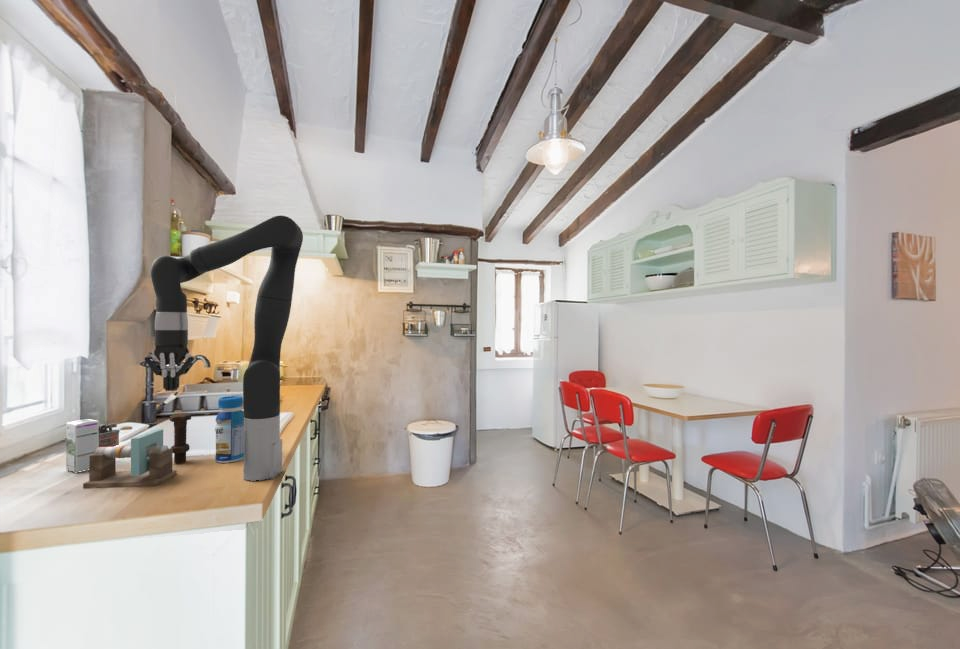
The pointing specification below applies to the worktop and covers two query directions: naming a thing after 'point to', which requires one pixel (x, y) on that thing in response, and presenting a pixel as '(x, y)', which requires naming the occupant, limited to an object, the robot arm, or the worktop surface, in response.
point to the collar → (143, 450)
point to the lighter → (108, 435)
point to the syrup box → (81, 443)
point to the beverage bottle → (230, 430)
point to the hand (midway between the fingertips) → (171, 390)
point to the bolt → (180, 437)
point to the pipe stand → (106, 475)
